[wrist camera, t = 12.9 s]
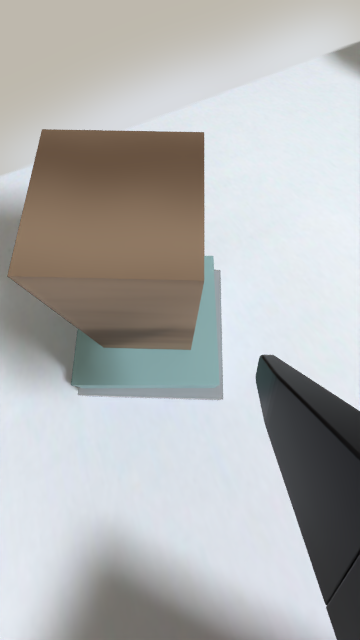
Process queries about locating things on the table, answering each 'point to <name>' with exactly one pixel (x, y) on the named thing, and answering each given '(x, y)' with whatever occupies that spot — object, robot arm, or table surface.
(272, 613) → the table surface
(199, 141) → the walnut block
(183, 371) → the teal top slab
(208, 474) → the table surface
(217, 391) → the grey base slab
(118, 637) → the table surface
